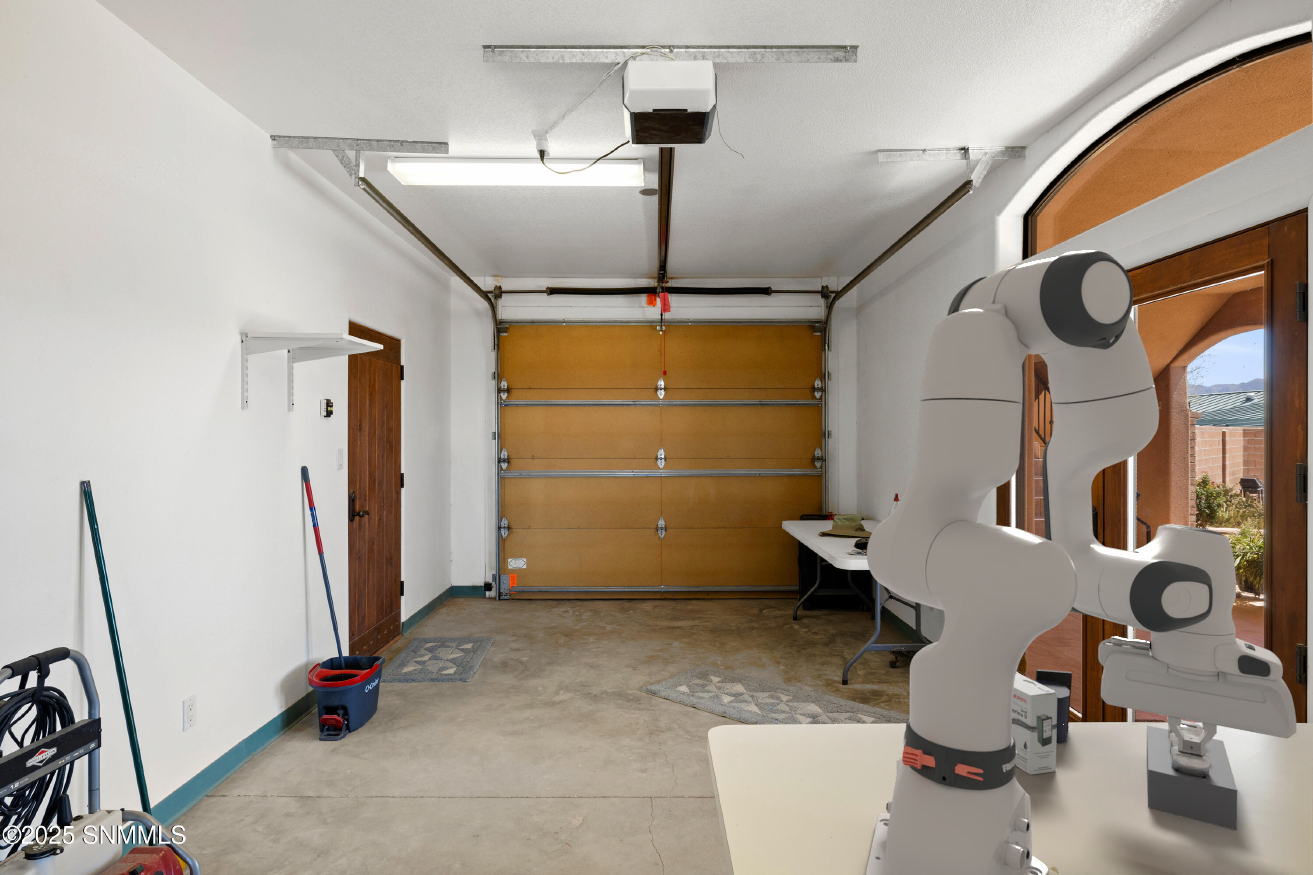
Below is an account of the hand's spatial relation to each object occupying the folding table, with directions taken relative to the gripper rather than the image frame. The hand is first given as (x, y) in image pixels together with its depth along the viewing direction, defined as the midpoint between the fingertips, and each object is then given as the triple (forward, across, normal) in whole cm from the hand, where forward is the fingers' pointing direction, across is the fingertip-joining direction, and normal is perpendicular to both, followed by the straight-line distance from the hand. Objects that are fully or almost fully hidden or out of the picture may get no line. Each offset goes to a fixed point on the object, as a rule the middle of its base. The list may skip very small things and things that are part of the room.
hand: (1191, 751), depth 91 cm
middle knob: (+5, 0, +5) cm, 7 cm away
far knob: (+5, 0, +11) cm, 12 cm away
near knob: (+5, 0, 0) cm, 5 cm away
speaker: (+8, -17, +14) cm, 23 cm away
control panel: (+7, 0, +5) cm, 9 cm away
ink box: (+8, -20, +2) cm, 22 cm away
